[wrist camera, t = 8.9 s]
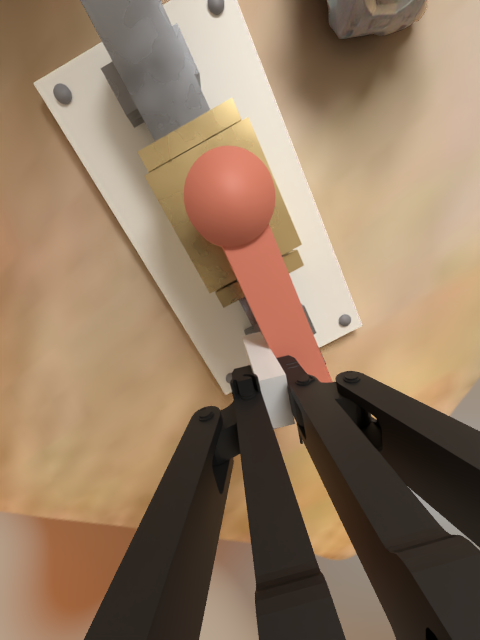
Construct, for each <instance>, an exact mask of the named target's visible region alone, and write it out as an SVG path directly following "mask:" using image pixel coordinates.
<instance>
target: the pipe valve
mask: <svg viewBox="0 0 480 640" xmlns="http://www.w3.org/2000/svg"><path fill="white" fill-rule="evenodd" d="M80 1H81V2H82V4H83V6H84V8H85V10H86V12H87V14H88V16H89V18H90V19H91V21H92V23H93V25H94V27H95V29H96V31H97V33H98V35H99V37H100V38H101V40H102V42H103V44H104V46H105V48H106V50H107V52H108V54H109V55H110V57H111V59H112V62H110V63H109V64H107V65H105V66H104V67H102V68H101V70H102V72H103V74H104V76H105V78H106V79H107V81H108V83H109V85H110V87H111V89H112V90H113V92H114V94H115V96H116V98H117V100H118V101H119V103H120V105H121V107H122V109H123V111H124V113H125V114H126V116H127V118H128V119H129V121H130V122H131V124H132V125H133V127H134V128H135V127H137V126H138V125H140V124H142V123H144V122H145V124H146V126H147V127H148V129H149V131H150V133H151V135H152V137H153V139H154V141H155V142H153V143H152V144H150V145H148V146H146V147H145V148H143V149H141V150H139V151H138V154H139V156H140V158H141V160H142V161H143V163H144V165H145V167H146V169H147V170H148V172H149V173H148V174H146V175H145V176H144V177H145V178H146V180H147V182H148V184H149V185H150V187H151V189H152V191H153V193H154V194H155V196H156V198H157V200H158V202H159V203H160V205H161V207H162V209H163V211H164V212H165V214H166V216H167V218H168V219H169V221H170V223H171V225H172V227H173V228H174V230H175V232H176V234H177V236H178V237H179V239H180V241H181V243H182V245H183V246H184V248H185V250H186V252H187V253H188V255H189V257H190V259H191V261H192V262H193V264H194V266H195V268H196V270H197V271H198V273H199V275H200V277H201V279H202V280H203V282H204V284H205V286H206V287H207V289H208V291H209V293H212V292H214V291H215V294H216V295H217V297H218V299H219V301H220V303H221V304H222V306H223V308H224V307H226V306H228V305H230V304H232V303H234V302H236V301H238V300H239V302H240V304H241V306H242V307H243V309H244V311H245V313H246V315H247V317H248V319H249V321H250V323H251V324H252V326H251V327H249V328H247V329H245V330H244V332H245V335H248V334H252V333H257V332H261V330H260V328H259V326H258V324H257V322H256V319H255V317H254V315H253V313H252V311H251V309H250V307H249V304H248V302H247V300H246V298H245V296H244V294H243V291H242V289H241V287H240V285H239V283H238V281H237V279H236V276H235V274H234V272H233V270H232V268H231V266H230V264H229V261H228V259H227V257H226V255H225V253H224V251H223V249H222V247H220V246H217V245H214V244H212V243H210V242H209V241H207V240H206V239H205V238H204V237H203V236H202V235H201V234H200V233H199V232H198V231H197V230H196V229H195V227H194V226H193V225H192V223H191V221H190V219H189V217H188V215H187V212H186V209H185V204H184V185H185V180H186V177H187V174H188V172H189V170H190V168H191V167H192V165H193V164H194V162H195V161H196V160H197V159H198V158H199V157H200V156H201V155H203V154H204V153H205V152H207V151H209V150H211V149H213V148H216V147H220V146H236V147H241V148H243V149H246V150H248V151H250V152H252V153H253V154H254V155H256V156H257V157H258V158H259V159H260V160H261V161H262V162H263V163H264V164H265V166H266V167H267V169H268V170H269V172H270V174H271V177H272V179H273V183H274V187H275V196H276V198H275V208H274V212H273V215H272V218H271V220H270V222H269V225H270V228H271V230H272V233H273V235H274V238H275V240H276V243H277V245H278V248H279V250H280V253H281V255H282V258H283V260H284V263H285V265H286V268H287V270H288V273H291V272H293V271H295V270H296V269H298V268H300V267H302V266H304V264H303V262H302V259H301V257H300V255H299V252H298V250H293V249H295V248H296V247H298V246H300V245H302V243H301V241H300V239H299V236H298V234H297V231H296V229H295V227H294V224H293V222H292V220H291V217H290V215H289V212H288V210H287V208H286V205H285V203H284V201H283V198H282V196H281V193H280V191H279V189H278V186H277V184H276V182H275V179H274V177H273V174H272V172H271V170H270V167H269V165H268V163H267V160H266V158H265V155H264V153H263V151H262V148H261V146H260V144H259V141H258V139H257V136H256V134H255V132H254V129H253V127H252V125H251V122H250V120H249V117H247V118H245V119H243V120H242V121H241V117H240V115H239V112H238V110H237V108H236V105H235V103H234V101H233V98H230V99H229V100H227V101H225V102H223V103H222V104H220V105H218V106H216V107H215V108H213V109H211V110H210V108H209V106H208V104H207V101H206V99H205V97H204V95H203V93H202V90H201V82H200V73H199V70H198V68H197V66H196V64H195V61H194V59H193V57H192V55H191V53H190V50H189V48H188V46H187V44H186V41H185V39H184V37H183V35H182V33H181V30H180V28H179V26H178V24H177V23H176V24H174V25H173V26H172V25H171V22H170V20H169V18H168V16H167V14H166V11H165V9H164V7H163V5H162V3H161V0H80ZM301 305H302V308H303V310H304V313H305V315H306V318H307V320H308V322H309V325H310V327H311V330H312V332H313V335H314V334H316V331H315V328H314V326H313V324H312V322H311V319H310V317H309V315H308V313H307V311H306V308H305V306H304V305H303V304H301ZM261 334H262V332H261ZM262 335H263V334H262ZM319 350H320V349H319ZM321 355H322V354H321ZM322 357H323V356H322ZM323 360H324V358H323ZM324 362H325V360H324ZM325 365H326V363H325Z"/></svg>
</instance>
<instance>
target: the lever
mask: <svg viewBox="0 0 480 640" xmlns="http://www.w3.org/2000/svg"><path fill="white" fill-rule="evenodd" d="M275 198H276V196H275V187H274V183H273V179H272V177H271V174H270V172H269V170H268V169H267V167H266V166H265V164H264V163H263V162H262V161H261V160H260V159H259V158H258V157H257V156H256V155H254V154H253V153H252V152H250V151H248V150H246V149H243V148H241V147H236V146H220V147H216V148H213V149H211V150H209V151H207V152H205V153H204V154H203V155H201V156H200V157H199V158H198V159H197V160H196V161H195V162H194V164H193V165H192V167H191V168H190V170H189V172H188V174H187V177H186V180H185V185H184V204H185V209H186V212H187V215H188V217H189V219H190V221H191V223H192V225H193V226H194V227H195V229H196V230H197V231H198V232H199V233H200V234H201V235H202V236H203V237H204V238H205V239H206V240H207V241H209V242H210V243H212V244H214V245H217V246H220V247H222V249H223V251H224V253H225V255H226V257H227V259H228V261H229V264H230V266H231V268H232V270H233V272H234V274H235V276H236V279H237V281H238V283H239V285H240V287H241V289H242V291H243V294H244V296H245V298H246V300H247V302H248V304H249V307H250V309H251V311H252V313H253V315H254V317H255V319H256V322H257V324H258V326H259V328H260V330H261V332H262V334H263V337H264V339H265V340H266V342H267V344H268V346H269V348H270V349H271V350H272V352H273V354H274V355H275V357H276V358H278V357H283V356H287V355H290V356H292V357H294V358H295V359H296V360H297V362H298V363H299V364H300V366H301V367H302V368H303V369H304V371H305V372H306V373H307V374H309V375H313V376H315V377H316V378H317V379H318V380H319V381H320V382H325V383H328V382H332V380H331V377H330V375H329V372H328V370H327V367H326V365H325V362H324V360H323V357H322V355H321V352H320V350H319V347H318V345H317V342H316V340H315V337H314V335H313V332H312V330H311V327H310V325H309V322H308V320H307V318H306V315H305V313H304V310H303V308H302V305H301V303H300V300H299V298H298V295H297V293H296V290H295V288H294V285H293V283H292V280H291V278H290V275H289V273H288V270H287V268H286V265H285V263H284V260H283V258H282V255H281V253H280V250H279V248H278V245H277V243H276V240H275V238H274V235H273V233H272V230H271V228H270V225H269V222H270V220H271V218H272V215H273V212H274V208H275Z"/></svg>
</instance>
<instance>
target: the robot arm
mask: <svg viewBox="0 0 480 640" xmlns="http://www.w3.org/2000/svg"><path fill="white" fill-rule="evenodd" d="M242 338H243V343H244V347H245V351H246V356H247V360H248V366H244V367H240V368H236V369H234V370H233V372H232V380H231V381H230V386H231V390H232V394H233V398H234V401H233V403H232V404H231V405H230V406H228V407H227V408H225V409H223V410H221V411H220V409H219V408H217V407H215V406H208V407H204V408H201V409H200V410H198V411H197V412H195V413H194V415H193V416H192V418H191V420H190V422H189V424H188V426H187V428H186V430H185V432H184V434H183V436H182V438H181V440H180V442H179V444H178V446H177V449H176V451H175V453H174V455H173V457H172V459H171V461H170V463H169V465H168V467H167V469H166V471H165V473H164V475H163V477H162V479H161V482H160V484H159V486H158V488H157V490H156V492H155V494H154V496H153V498H152V500H151V502H150V504H149V506H148V508H147V510H146V512H145V514H144V517H143V519H142V521H141V523H140V525H139V527H138V529H137V531H136V533H135V535H134V537H133V539H132V541H131V543H130V545H129V548H128V550H127V552H126V554H125V556H124V558H123V560H122V562H121V564H120V566H119V568H118V570H117V572H116V574H115V576H114V578H113V580H112V582H111V585H110V587H109V589H108V591H107V593H106V595H105V597H104V599H103V601H102V603H101V605H100V607H99V609H98V611H97V613H96V616H95V618H94V620H93V622H92V624H91V626H90V628H89V630H88V632H87V634H86V636H85V638H84V640H199V636H200V631H201V626H202V621H203V616H204V611H205V606H206V601H207V595H208V590H209V585H210V580H211V575H212V569H213V564H214V560H215V555H216V549H217V544H218V539H219V534H220V529H221V524H222V519H223V514H224V509H225V504H226V499H227V493H228V488H229V483H230V478H231V473H232V468H233V463H234V460H233V457H235V456H236V455H238V454H241V462H242V471H243V479H244V487H245V495H246V504H247V512H248V520H249V528H250V537H251V545H252V553H253V561H254V570H255V578H256V591H255V604H256V605H255V606H256V617H257V625H258V635H259V640H346V639H345V636H344V633H343V630H342V627H341V624H340V621H339V618H338V615H337V612H336V609H335V606H334V603H333V600H332V597H331V595H330V591H329V589H328V586H327V583H326V581H325V578H324V576H323V574H322V573H321V571H320V569H319V566H318V564H317V561H316V558H315V555H314V552H313V548H312V545H311V542H310V539H309V536H308V533H307V530H306V527H305V524H304V521H303V518H302V515H301V512H300V509H299V506H298V503H297V500H296V497H295V494H294V491H293V488H292V484H291V481H290V478H289V475H288V472H287V469H286V466H285V463H284V460H283V457H282V454H281V451H280V448H279V445H278V442H277V439H276V436H275V433H274V430H273V429H276V428H280V427H284V426H288V425H292V424H295V422H294V418H295V420H296V422H297V427H298V432H299V438H300V443H301V444H303V442H304V444H305V446H306V448H307V450H308V452H309V454H310V456H311V459H312V461H313V463H314V465H315V467H316V469H317V471H318V473H319V475H320V477H321V479H322V482H323V484H324V486H325V488H326V490H327V492H328V494H329V496H330V498H331V500H332V503H333V505H334V507H335V509H336V511H337V513H338V515H339V517H340V519H341V521H342V523H343V526H344V528H345V530H346V532H347V534H348V536H349V538H350V540H351V542H352V544H353V546H354V549H355V551H356V553H357V555H358V557H359V559H360V561H361V563H362V565H363V567H364V569H365V572H366V573H367V576H368V578H369V580H370V582H371V584H372V586H373V588H374V590H375V593H376V595H377V597H378V599H379V601H380V603H381V605H382V607H383V609H384V611H385V613H386V616H387V618H388V620H389V622H390V624H391V626H392V629H393V631H394V634H395V637H396V640H480V550H479V549H477V548H476V547H475V546H474V545H473V544H472V543H471V542H470V541H469V540H467V539H466V538H464V537H463V536H460V535H451V534H449V533H448V532H446V531H445V530H444V529H443V528H442V527H441V526H440V525H439V524H438V522H437V521H436V520H435V519H434V518H433V516H432V515H431V514H430V513H429V512H428V510H427V509H426V508H425V507H424V506H423V504H422V503H421V502H420V501H419V500H418V498H417V497H416V496H415V495H414V494H413V492H412V491H411V490H413V491H414V492H415V493H416V494H417V495H419V496H420V497H421V498H422V499H423V500H425V501H426V502H427V503H428V504H429V505H430V506H431V507H433V508H434V509H435V510H436V511H437V512H439V513H440V514H441V515H442V516H443V517H445V518H446V519H447V520H448V521H449V522H450V523H451V524H453V525H454V526H455V527H456V528H457V529H459V530H460V531H461V532H462V533H463V534H464V535H466V536H467V537H468V538H469V539H470V540H472V541H473V542H474V543H475V544H476V545H477V546H479V547H480V431H478V430H475V429H474V428H472V427H469V426H468V425H466V424H463V423H462V422H459V421H457V420H455V419H454V418H452V417H450V416H447V415H445V414H443V413H441V412H439V411H437V410H435V409H433V408H431V407H429V406H427V405H425V404H423V403H421V402H419V401H417V400H415V399H413V398H411V397H409V396H407V395H405V394H403V393H401V392H399V391H397V390H395V389H393V388H391V387H389V386H387V385H385V384H383V383H381V382H379V381H377V380H375V379H373V378H371V377H369V376H367V375H365V374H363V373H360V372H355V371H346V372H342V373H340V374H338V375H337V376H336V382H328V383H325V382H320V381H319V380H318V379H317V378H316V377H315V376H313V375H309V374H307V373H306V372H305V371H304V369H303V368H302V367H301V366H300V364H299V363H298V362H297V360H296V359H295V358H294V357H292V356H290V355H287V356H283V357H278V358H276V357H275V355H274V354H273V352H272V350H271V349H270V348H269V346H268V344H267V342H266V340H265V339H264V337H263V335H262V334H261V332H257V333H252V334H248V335H244V336H242ZM371 414H372V415H373V416H375V417H376V418H377V420H376V419H374V418H373V417H371ZM293 416H294V417H293ZM302 440H303V441H302ZM408 487H409V488H411V490H410V489H409V488H408Z"/></svg>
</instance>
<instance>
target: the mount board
mask: <svg viewBox="0 0 480 640" xmlns="http://www.w3.org/2000/svg"><path fill="white" fill-rule="evenodd" d="M163 7H164V9H165V11H166V14H167V16H168V18H169V20H170V22H171V25H172V26H173V25H174V24H176V23H177V24H178V26H179V28H180V30H181V33H182V35H183V37H184V39H185V41H186V44H187V46H188V48H189V50H190V53H191V55H192V57H193V59H194V61H195V64H196V66H197V68H198V70H199V73H200V82H201V90H202V93H203V95H204V97H205V99H206V101H207V104H208V106H209V108H210V110H211V109H213V108H215V107H216V106H218V105H220V104H222V103H223V102H225V101H227V100H229V99H230V98H233V101H234V103H235V105H236V108H237V110H238V112H239V115H240V117H241V121H242V120H243V119H245V118H247V117H249V120H250V122H251V125H252V127H253V129H254V132H255V134H256V136H257V139H258V141H259V144H260V146H261V148H262V151H263V153H264V155H265V158H266V160H267V163H268V165H269V167H270V170H271V172H272V174H273V177H274V179H275V182H276V184H277V186H278V189H279V191H280V193H281V196H282V198H283V201H284V203H285V205H286V208H287V210H288V212H289V215H290V217H291V220H292V222H293V224H294V227H295V229H296V231H297V234H298V236H299V239H300V241H301V243H302V245H300V246H298V247H296V248H295V249H293V250H298V252H299V255H300V257H301V259H302V262H303V264H304V266H302V267H300V268H298V269H296V270H295V271H293V272H291V273H289V275H290V278H291V280H292V283H293V285H294V288H295V290H296V293H297V295H298V298H299V300H300V303H301V304H303V305H304V306H305V308H306V311H307V313H308V315H309V317H310V319H311V322H312V324H313V326H314V328H315V331H316V334H314V337H315V340H316V342H317V345H318V347H319V348H320V347H322V346H324V345H326V344H328V343H330V342H332V341H334V340H335V339H337V338H339V337H341V336H343V335H345V334H347V333H349V332H351V331H353V330H355V329H357V328H359V327H361V326H363V325H362V322H361V320H360V317H359V315H358V312H357V309H356V307H355V304H354V302H353V299H352V297H351V294H350V291H349V289H348V286H347V284H346V281H345V278H344V276H343V273H342V271H341V268H340V265H339V263H338V260H337V258H336V255H335V253H334V250H333V247H332V245H331V242H330V240H329V237H328V234H327V232H326V229H325V227H324V224H323V221H322V219H321V216H320V214H319V211H318V209H317V206H316V203H315V201H314V198H313V196H312V193H311V190H310V188H309V185H308V183H307V180H306V178H305V175H304V172H303V170H302V167H301V165H300V162H299V159H298V157H297V154H296V152H295V149H294V146H293V144H292V141H291V139H290V136H289V134H288V131H287V128H286V126H285V123H284V121H283V118H282V115H281V113H280V110H279V108H278V105H277V102H276V100H275V97H274V95H273V92H272V90H271V87H270V84H269V82H268V79H267V77H266V74H265V71H264V69H263V66H262V64H261V61H260V59H259V56H258V53H257V51H256V48H255V46H254V43H253V40H252V38H251V35H250V33H249V30H248V27H247V25H246V22H245V20H244V17H243V15H242V12H241V9H240V7H239V4H238V2H237V0H170V1H169V2H167V3H165V4H164V5H163ZM110 62H112V59H111V57H110V55H109V54H108V52H107V50H106V48H105V46H104V44H103V42H100V43H99V44H97V45H95V46H94V47H92V48H90V49H89V50H87V51H85V52H84V53H82V54H80V55H79V56H77V57H76V58H74V59H72V60H71V61H69V62H67V63H66V64H64V65H62V66H61V67H59V68H57V69H56V70H54V71H52V72H51V73H49V74H47V75H46V76H44V77H42V78H41V79H39V80H37V81H36V82H34V83H33V84H34V85H35V87H36V88H37V90H38V92H39V93H40V95H41V97H42V98H43V100H44V101H45V103H46V105H47V106H48V108H49V110H50V111H51V113H52V114H53V116H54V118H55V119H56V121H57V123H58V124H59V126H60V127H61V129H62V131H63V132H64V134H65V136H66V137H67V139H68V140H69V142H70V144H71V145H72V147H73V149H74V150H75V152H76V153H77V155H78V157H79V158H80V160H81V161H82V163H83V165H84V166H85V168H86V170H87V171H88V173H89V174H90V176H91V178H92V179H93V181H94V183H95V184H96V186H97V187H98V189H99V191H100V192H101V194H102V196H103V197H104V199H105V200H106V202H107V204H108V205H109V207H110V209H111V210H112V212H113V213H114V215H115V217H116V218H117V220H118V222H119V223H120V225H121V226H122V228H123V230H124V231H125V233H126V234H127V236H128V238H129V239H130V241H131V243H132V244H133V246H134V247H135V249H136V251H137V252H138V254H139V256H140V257H141V259H142V260H143V262H144V264H145V265H146V267H147V269H148V270H149V272H150V273H151V275H152V277H153V278H154V280H155V282H156V283H157V285H158V286H159V288H160V290H161V291H162V293H163V294H164V296H165V298H166V299H167V301H168V303H169V304H170V306H171V307H172V309H173V311H174V312H175V314H176V316H177V317H178V319H179V320H180V322H181V324H182V325H183V327H184V329H185V330H186V332H187V333H188V335H189V337H190V338H191V340H192V342H193V343H194V345H195V346H196V348H197V350H198V351H199V353H200V355H201V356H202V358H203V359H204V361H205V363H206V364H207V366H208V367H209V369H210V371H211V372H212V374H213V376H214V377H215V379H216V380H217V382H218V384H219V385H220V387H221V389H222V390H223V392H224V393H225V395H227V394H229V393H231V392H232V390H231V386H230V381H231V380H232V372H233V370H234V369H236V368H240V367H244V366H248V360H247V356H246V351H245V347H244V343H243V338H242V336H244V335H245V332H244V330H245V329H247V328H249V327H251V326H252V324H251V323H250V321H249V319H248V317H247V315H246V313H245V311H244V309H243V307H242V306H241V304H240V302H239V300H238V301H236V302H234V303H232V304H230V305H228V306H226V307H224V308H223V306H222V304H221V303H220V301H219V299H218V297H217V295H216V294H215V291H214V292H212V293H209V291H208V289H207V287H206V286H205V284H204V282H203V280H202V279H201V277H200V275H199V273H198V271H197V270H196V268H195V266H194V264H193V262H192V261H191V259H190V257H189V255H188V253H187V252H186V250H185V248H184V246H183V245H182V243H181V241H180V239H179V237H178V236H177V234H176V232H175V230H174V228H173V227H172V225H171V223H170V221H169V219H168V218H167V216H166V214H165V212H164V211H163V209H162V207H161V205H160V203H159V202H158V200H157V198H156V196H155V194H154V193H153V191H152V189H151V187H150V185H149V184H148V182H147V180H146V178H145V177H144V176H145V175H146V174H148V173H149V172H148V170H147V169H146V167H145V165H144V163H143V161H142V160H141V158H140V156H139V154H138V151H139V150H141V149H143V148H145V147H146V146H148V145H150V144H152V143H153V142H155V141H154V139H153V137H152V135H151V133H150V131H149V129H148V127H147V126H146V124H145V122H144V123H142V124H140V125H138V126H137V127H135V128H134V127H133V125H132V124H131V122H130V121H129V119H128V118H127V116H126V114H125V113H124V111H123V109H122V107H121V105H120V103H119V101H118V100H117V98H116V96H115V94H114V92H113V90H112V89H111V87H110V85H109V83H108V81H107V79H106V78H105V76H104V74H103V72H102V70H101V68H102V67H104V66H105V65H107V64H109V63H110Z"/></svg>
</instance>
